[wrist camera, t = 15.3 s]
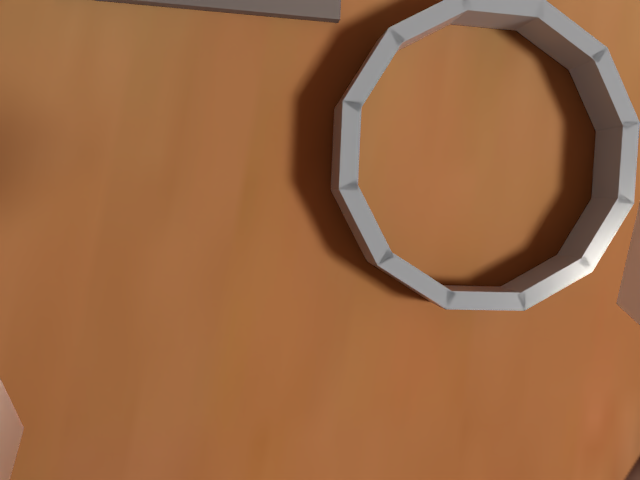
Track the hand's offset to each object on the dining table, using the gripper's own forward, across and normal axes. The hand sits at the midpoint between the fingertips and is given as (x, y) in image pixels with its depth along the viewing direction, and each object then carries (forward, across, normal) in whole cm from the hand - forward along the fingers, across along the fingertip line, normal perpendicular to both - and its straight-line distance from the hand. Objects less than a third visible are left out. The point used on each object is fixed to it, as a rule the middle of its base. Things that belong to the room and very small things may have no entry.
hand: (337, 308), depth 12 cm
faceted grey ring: (+20, +13, -7) cm, 25 cm away
